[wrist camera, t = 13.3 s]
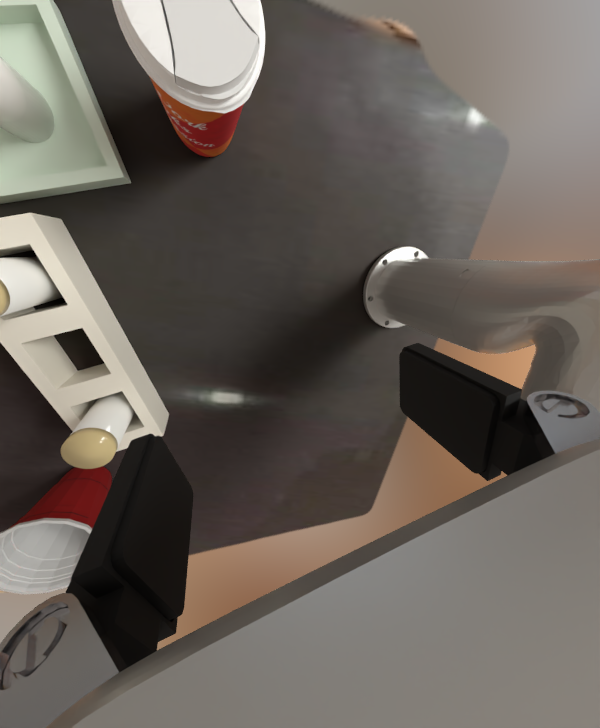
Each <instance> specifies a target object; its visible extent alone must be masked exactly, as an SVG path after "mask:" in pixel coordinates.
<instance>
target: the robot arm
mask: <svg viewBox="0 0 600 728" xmlns="http://www.w3.org/2000/svg"><path fill="white" fill-rule="evenodd" d="M382 262H383V263H382ZM363 302H364V306H365V309H366V312H367V314H368V315H369V317H370V318H371V319H372V320H373V321H374V322H375V323H377V324H379V325H381V326H383V327H386V328H398V327H401V326H404V325H407V326H410V327H413V328H415V329H418V330H420V331H423V332H425V333H428V334H431V335H433V336H436V337H438V338H441V339H444V340H446V341H449V342H451V343H454V344H457V345H459V346H462V347H465V348H467V349H470V350H473V351H476V352H479V353H486V354H501V353H507V352H512V351H515V350H519V349H522V348H525V347H528V346H531V345H534V344H535V346H536V351H535V354H534V357H533V360H532V363H531V368H530V370H529V372H528V375H527V378H526V380H525V382H524V385H523V387H522V389H519V388H517V387H515V386H513V385H510V384H508V383H506V382H504V381H502V380H499V379H497V378H495V377H493V376H490V375H488V374H486V373H484V372H482V371H479V370H477V369H475V368H473V367H471V366H468V365H466V364H464V363H462V362H459V361H457V360H455V359H453V358H451V357H448V356H446V355H444V354H442V353H439V352H437V351H435V350H433V349H431V348H428V347H426V346H424V345H422V344H419V343H416V344H413V345H410V346H407V347H404V348H403V350H402V352H401V353H400V407H401V410H402V411H403V413H404V414H405V415H406V416H408V417H409V418H410V419H411V420H412V421H414V422H415V423H416V424H417V425H418V426H419V427H421V428H422V429H423V430H424V431H425V432H426V433H427V434H429V435H430V436H431V437H432V438H433V439H434V440H436V441H437V442H438V443H439V444H440V445H442V446H443V447H444V448H445V449H446V450H447V451H448V452H450V453H451V454H452V455H453V456H454V457H456V458H457V459H458V460H459V461H460V462H461V463H463V464H464V465H465V466H466V467H467V468H468V469H470V470H471V471H472V472H474V473H479V474H480V475H481V476H482V477H483V478H485V479H486V480H487V481H488V480H491V479H493V478H495V477H497V476H499V475H500V474H501V471H503V472H504V473H505V474H507V475H508V476H506V477H504V478H502V479H500V480H498V481H496V482H494V483H492V484H490V485H488V486H486V487H483V488H482V489H479V490H477V491H475V492H473V493H471V494H469V495H467V496H465V497H463V498H461V499H459V500H457V501H455V502H452V503H451V504H448V505H446V506H444V507H442V508H440V509H438V510H436V511H434V512H432V513H430V514H428V515H426V516H424V517H422V518H420V519H418V520H416V521H413V522H411V523H409V524H408V525H406V526H403V527H401V528H399V529H398V530H395V531H393V532H391V533H389V534H387V535H385V536H383V537H381V538H379V539H377V540H375V541H373V542H371V543H369V544H367V545H365V546H363V547H361V548H359V549H357V550H355V551H353V552H351V553H348V554H347V555H345V556H342V557H341V558H338V559H336V560H334V561H332V562H330V563H328V564H326V565H324V566H322V567H320V568H318V569H316V570H314V571H312V572H310V573H308V574H306V575H304V576H302V577H300V578H298V579H296V580H294V581H292V582H290V583H288V584H286V585H284V586H282V587H280V588H278V589H276V590H274V591H272V592H270V593H268V594H266V595H264V596H262V597H260V598H258V599H256V600H254V601H252V602H250V603H248V604H246V605H244V606H242V607H240V608H238V609H236V610H234V611H232V612H230V613H228V614H227V615H224V616H223V617H221V618H219V619H217V620H215V621H213V622H211V623H209V624H207V625H205V626H203V627H201V628H199V629H198V630H196V631H194V632H192V633H190V634H188V635H186V636H184V637H182V638H180V639H178V640H176V641H175V642H173V643H171V644H169V645H167V646H165V647H163V648H161V649H159V650H157V644H158V642H159V641H161V640H163V639H165V638H167V637H169V636H171V635H173V634H175V633H176V627H177V617H178V616H180V615H181V614H182V612H183V609H184V601H185V589H186V578H187V566H188V554H189V542H190V530H191V518H192V506H193V491H192V488H191V486H190V484H189V482H188V481H187V479H186V477H185V476H184V474H183V472H182V471H181V469H180V467H179V466H178V464H177V462H176V461H175V459H174V457H173V456H172V454H171V452H170V451H169V449H168V447H167V446H166V444H165V442H164V441H163V439H162V438H161V437H160V436H154V435H153V434H148V435H145V436H142V437H139V438H136V439H133V440H131V442H130V444H129V446H128V448H127V451H126V453H125V455H124V458H123V460H122V462H121V465H120V467H119V469H118V471H117V474H116V476H115V478H114V481H113V483H112V485H111V487H110V490H109V492H108V494H107V497H106V499H105V501H104V503H103V506H102V508H101V510H100V513H99V515H98V517H97V519H96V522H95V524H94V526H93V529H92V531H91V533H90V536H89V538H88V540H87V542H86V545H85V547H84V549H83V552H82V554H81V556H80V558H79V561H78V563H77V565H76V568H75V570H74V572H73V574H72V577H71V582H70V584H69V586H68V589H67V591H66V593H62V594H59V595H56V596H53V597H51V598H49V599H48V600H46V601H44V602H43V603H41V604H39V605H38V606H37V607H35V608H34V609H33V610H32V611H30V612H29V613H28V614H27V615H26V616H24V617H23V619H22V620H21V621H19V622H18V624H17V625H16V626H15V627H14V628H13V629H12V630H11V631H10V632H9V633H8V634H7V636H6V637H5V639H4V640H3V641H2V642H1V644H0V728H600V259H598V260H582V261H581V260H580V261H564V262H563V261H562V262H524V261H522V262H521V261H493V260H464V259H435V258H428V257H427V256H426V254H425V253H424V252H422V251H421V250H420V249H417V248H415V247H409V246H402V247H397V248H393V249H391V250H389V251H387V252H386V253H384V254H383V255H382V256H380V257H379V259H378V260H377V261H376V262H375V263H374V264H373V266H372V267H371V269H370V271H369V273H368V275H367V277H366V281H365V284H364V290H363Z"/></svg>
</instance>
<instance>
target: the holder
mask: <svg viewBox="0 0 600 728" xmlns="http://www.w3.org/2000/svg"><path fill="white" fill-rule="evenodd" d="M32 250H34V252H35V253H36V255H37V256H38V258H39V260H40V261H41V263H42V264H43V266H44V268H45V269H46V271H47V272H48V274H49V276H50V277H51V279H52V280H53V282H54V284H55V285H56V287H57V288H58V290H59V291H60V293H61V295H62V296H63V298H64V299H65V301H66V303H63V304H58V305H54V306H50V307H46V308H41V309H37V310H35V308H34V307H30V308H27V309H23V310H20V311H17V312H14V313H10V314H7V315H4V316H1V317H0V342H1V344H2V345H3V346H4V347H5V349H6V350H7V351H8V352H9V354H10V355H11V356H12V357H13V359H14V360H15V361H16V362H17V363H18V365H19V366H20V367H21V368H22V370H23V371H24V372H25V373H26V375H27V376H28V377H29V378H30V379H31V381H32V382H33V383H34V384H35V386H36V387H37V388H38V389H39V391H40V392H41V393H42V394H43V395H44V397H45V398H46V399H47V400H48V402H49V403H50V404H51V405H52V407H53V408H54V409H55V410H56V411H57V413H58V414H59V415H60V416H61V418H62V419H63V420H64V421H65V423H66V424H67V425H68V426H69V428H70V429H71V430H72V431H73V430H74V429H75V428H76V427H77V425H78V424H79V423H80V421H81V420H82V419H83V418H84V416H85V415H86V414H87V412H88V411H89V410H90V408H91V407H92V406H93V405H94V403H95V402H96V401H97V399H98V398H101V397H104V396H108V395H111V394H114V393H118V392H121V391H122V392H123V393H124V395H125V396H126V398H127V400H128V401H129V403H130V404H131V406H132V408H133V409H134V411H135V413H134V415H133V417H132V419H131V421H130V423H129V425H128V427H127V430H126V432H125V434H124V436H123V438H122V440H121V442H120V444H119V446H118V448H117V450H116V452H117V451H120V450H123V449H126V448H128V446H129V444H130V442H131V440H133V439H136V438H139V437H142V436H145V435H148V434H153V435H154V436H160V437H161V436H163V435H164V432H165V428H166V424H167V421H168V417H169V413H168V411H167V409H166V408H165V406H164V404H163V402H162V400H161V399H160V397H159V395H158V393H157V391H156V390H155V388H154V386H153V384H152V382H151V380H150V379H149V377H148V375H147V373H146V371H145V370H144V368H143V366H142V364H141V362H140V361H139V359H138V357H137V355H136V353H135V352H134V350H133V348H132V346H131V344H130V342H129V341H128V339H127V337H126V335H125V333H124V332H123V330H122V328H121V326H120V324H119V323H118V321H117V319H116V317H115V315H114V314H113V312H112V310H111V308H110V306H109V305H108V303H107V301H106V299H105V297H104V295H103V294H102V292H101V290H100V288H99V286H98V285H97V283H96V281H95V279H94V277H93V276H92V274H91V272H90V270H89V268H88V267H87V265H86V263H85V261H84V259H83V257H82V256H81V254H80V252H79V250H78V248H77V247H76V245H75V243H74V241H73V239H72V238H71V236H70V234H69V232H68V230H67V229H66V227H65V225H64V223H63V221H62V220H61V219H58V218H54V217H49V216H44V215H39V214H35V213H26V214H20V215H14V216H8V217H2V218H0V257H1V256H6V255H11V254H16V253H21V252H27V251H32ZM80 328H83V330H84V331H85V333H86V334H87V336H88V338H89V339H90V341H91V342H92V344H93V346H94V347H95V349H96V350H97V352H98V353H99V355H100V357H101V358H102V360H103V361H104V364H100V365H97V366H93V367H90V368H86V369H82V370H79V371H78V370H77V369H76V367H75V366H74V364H73V363H72V361H71V360H70V359H69V357H68V356H67V354H66V353H65V351H64V350H63V349H62V347H61V346H60V344H59V343H58V341H57V340H56V338H55V337H54V336H53V335H56V334H60V333H64V332H68V331H72V330H76V329H80Z"/></svg>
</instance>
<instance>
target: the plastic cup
mask: <svg viewBox="0 0 600 728" xmlns="http://www.w3.org/2000/svg"><path fill="white" fill-rule="evenodd" d="M111 483H112V476H111V473H110V472H109V471H108V470H107V469H106V468H105V467H102V466H101V467H98V468H93V469H83V468H77V467H75V468H73V469H71V470H70V471H68V472H67V473H66V475H65V476H64V477H63V478H62V479H61V480H60V481H59V482H58V483H57V484H56V485H54V486H53V487H52V488H51V489H50V490H49V491H48V492H47V493H46V494H45V495H44V496H43V497H42V498H41V499H40V500H39V501H38V502H37V504H36V505H35V506H34V507H33V508H32V509H31V510H30V511H29V512H28V513H27V514H26V515H25V516H24V517H22V518H21V519H20V520H19V521H18V522H16V523H15V524H13V525H12V526H11V527H10V528H9V529H7V530H5V531H3V532H1V533H0V590H1V591H7V592H12V593H18V594H36V593H37V594H38V593H48V592H52V591H55V590H59V589H62V588H66V587H68V586H69V584H70V582H71V577H72V574H73V572H74V570H75V568H76V565H77V563H78V561H79V558H80V556H81V554H82V552H83V549H84V547H85V545H86V542H87V540H88V538H89V536H90V533H91V531H92V529H93V526H94V524H95V522H96V519H97V517H98V515H99V513H100V510H101V508H102V506H103V503H104V501H105V499H106V497H107V494H108V492H109V490H110V487H111Z"/></svg>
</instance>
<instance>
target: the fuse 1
mask: <svg viewBox="0 0 600 728" xmlns="http://www.w3.org/2000/svg"><path fill="white" fill-rule="evenodd" d="M62 297H63V296H62V295H61V293H60V291H59V290H58V288H57V287H56V285H55V284H54V282H53V280H52V279H51V277H50V276H49V274H48V272H47V271H46V269H45V268H44V266H43V264H42V263H41V261H40V260H39V258H38V257H8V258H0V317H1V316H4V315H7V314H10V313H14V312H17V311H20V310H23V309H27V308H30V307H33V306H36V305H40V304H43V303H46V302H49V301H53V300H56V299H59V298H62Z"/></svg>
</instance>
